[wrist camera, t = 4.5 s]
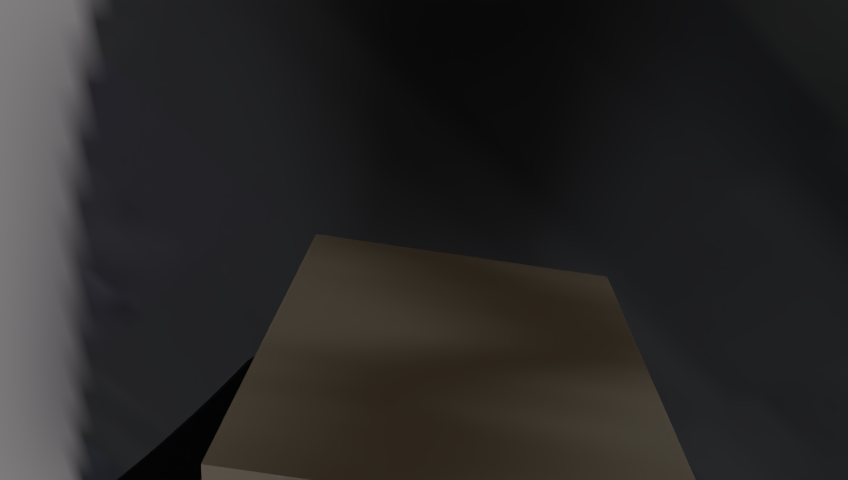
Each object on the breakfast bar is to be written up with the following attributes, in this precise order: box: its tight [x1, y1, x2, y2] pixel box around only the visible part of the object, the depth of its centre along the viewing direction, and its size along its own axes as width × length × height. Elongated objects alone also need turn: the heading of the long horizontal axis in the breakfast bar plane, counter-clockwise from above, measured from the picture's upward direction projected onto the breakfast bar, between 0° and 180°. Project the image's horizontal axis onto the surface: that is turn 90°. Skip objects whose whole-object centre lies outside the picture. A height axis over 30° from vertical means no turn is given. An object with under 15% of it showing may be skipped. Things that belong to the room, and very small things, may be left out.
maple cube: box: [201, 234, 695, 480], centre depth 9 cm, size 5×5×5 cm
